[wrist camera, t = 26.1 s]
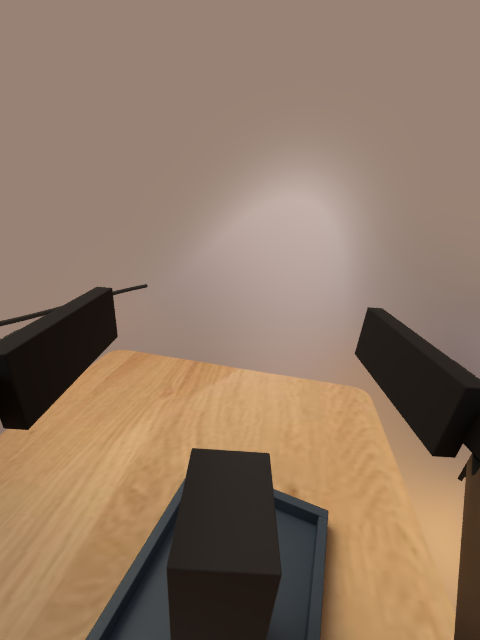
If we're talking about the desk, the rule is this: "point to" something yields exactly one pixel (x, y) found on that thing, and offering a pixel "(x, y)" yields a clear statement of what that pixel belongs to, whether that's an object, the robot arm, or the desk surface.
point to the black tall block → (224, 549)
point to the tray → (292, 598)
